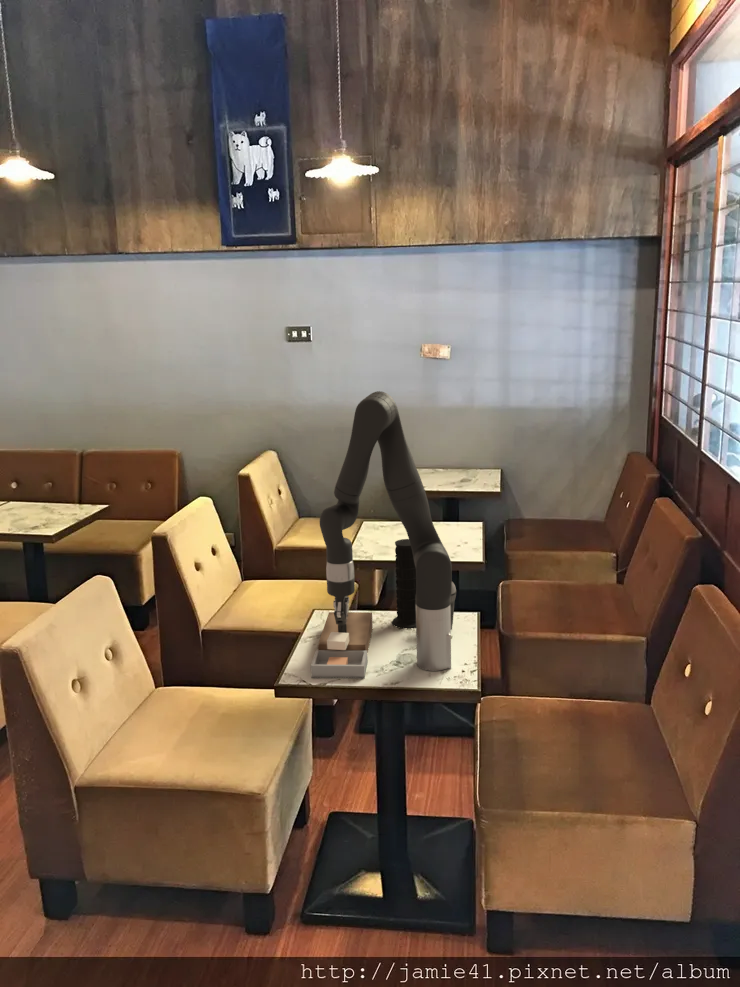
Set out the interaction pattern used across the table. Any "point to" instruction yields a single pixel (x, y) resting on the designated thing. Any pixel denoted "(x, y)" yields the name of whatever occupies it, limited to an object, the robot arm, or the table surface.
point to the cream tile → (338, 641)
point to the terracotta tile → (337, 661)
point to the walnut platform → (350, 630)
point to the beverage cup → (452, 602)
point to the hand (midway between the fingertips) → (342, 635)
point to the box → (352, 670)
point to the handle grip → (405, 585)
